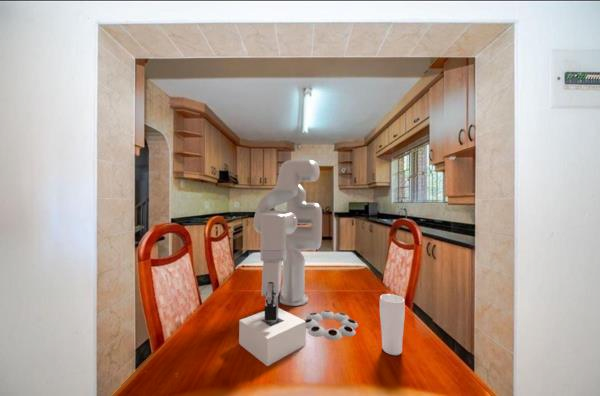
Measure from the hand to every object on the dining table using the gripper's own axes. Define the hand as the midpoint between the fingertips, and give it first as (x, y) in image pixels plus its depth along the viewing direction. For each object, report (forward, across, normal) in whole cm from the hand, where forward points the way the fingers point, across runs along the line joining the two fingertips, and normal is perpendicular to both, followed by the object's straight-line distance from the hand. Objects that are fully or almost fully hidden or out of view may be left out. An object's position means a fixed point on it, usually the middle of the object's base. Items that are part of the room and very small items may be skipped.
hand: (272, 311), depth 74 cm
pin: (+7, 0, 0) cm, 7 cm away
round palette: (+10, -12, +18) cm, 24 cm away
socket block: (+10, 0, 0) cm, 10 cm away
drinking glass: (+10, +2, +35) cm, 36 cm away
